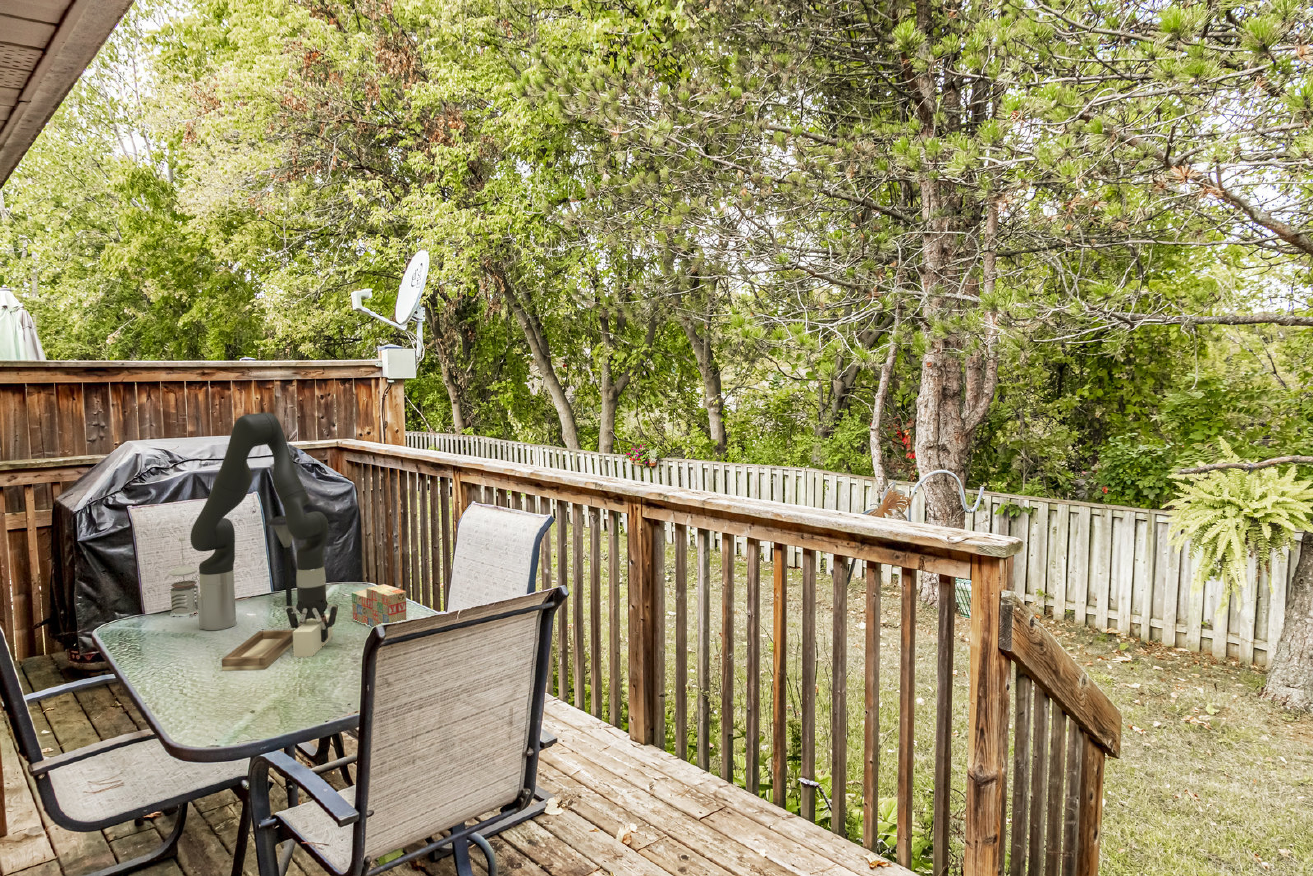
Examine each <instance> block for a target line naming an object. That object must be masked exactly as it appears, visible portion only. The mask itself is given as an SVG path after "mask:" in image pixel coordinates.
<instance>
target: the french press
mask: <svg viewBox="0 0 1313 876" xmlns="http://www.w3.org/2000/svg"><path fill="white" fill-rule="evenodd" d="M185 541H186V538H185V537H184V536H181V537H179V538H178V542H181V544H183V542H185ZM181 557H182V558H181V559H182V560H181V561H182V562H184V551H183V547H181ZM198 571H199V568H196V567H194V566H188V565H187V566H185V565H184V564H182V565H181V566H179V567H176V568H174V569H172V570H170V571H169V572H168V574H169V576H173V577H179V576H181V577H182V576H183V581H176V582H173V583H172V584H171V587H172V588H171V589H170V597H171V598H170V602H171V603H170V604H171V608H170V609H171V611H172V613H175V614H194V613H196V612H198V598H200V597H201V594H200V592H199V586H198V585H197V583H199V584H200V579H198V577H199V578H200V575H198V574H197V575H196V576H192V580H185V576H188V575H193V574H195V573H197V572H198ZM197 581H198V582H197ZM174 609H175V610H174Z"/></svg>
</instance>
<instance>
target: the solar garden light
mask: <svg viewBox="0 0 1313 876" xmlns="http://www.w3.org/2000/svg"><path fill="white" fill-rule="evenodd" d="M265 525H266V526H272V528H273V530H274V531H275V533H276V536H277V538H278V539H279V541H280V543H281V544H282V546H283V554H284V555H283V556H284V559H283V560H284V576H285V577H284V579H285V600H286V601H285V602H286V606H287V607H290V606H293V596H292V595H293V594H292V593H293V591H292V571H291V548H290V546H291V544H292V542H293V539H294V537H293V536H292V535H291V534H290V532H289V530H288V527H287V522H286V517H285V515H280V516H275V517H274V518H272V519H271V520H269V521H267V522H266V523H265Z"/></svg>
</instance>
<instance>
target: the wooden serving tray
mask: <svg viewBox="0 0 1313 876" xmlns="http://www.w3.org/2000/svg"><path fill="white" fill-rule="evenodd" d="M295 630H296V629H285V630H284V629H282V630H281V629H279V630H278V629H277V630H259V631H257V632H256V633H255V634H254V635H252V636H250V637H249V638H248V639H246V640H245V641H244V642H243V643H241V644H240V645H238V646H237V647H236V648H235V649H233V650H232V651H231V652H229V653H228V654H227V655H225V656H224V657H223V658H221V670H222V671H245V670H250V671H251V670H253V671H254V670H266V669H268V667H269V666H271V665H272V664H274V662H276V661H277V660H278V659H279V658H280V657H281V656H282V655H284V653H286V652H287V651H288V650H289V649H290V648H291V647H293V632H294V631H295ZM286 650H287V651H286ZM285 651H286V652H285ZM276 659H277V660H276Z"/></svg>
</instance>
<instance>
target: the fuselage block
mask: <svg viewBox="0 0 1313 876" xmlns="http://www.w3.org/2000/svg"><path fill="white" fill-rule="evenodd" d="M325 616H326V620H327V622H328V621H329V616H330V613H326V614H325ZM321 629H322V628H321V626H320V624H319V623H318V621H317V619H312V618H311V619H308V620H307V622H305V623H304V624H302V625H301V626H300V627H298V628H297V629H296V628H295V629H294V630H295V631H294V632H293V645H292V647H293V658H306V657H307V656H313V655H314V656H315V655H316V654H317V653H318V652H319V651H320V650H321V649H322V648H323V647H324V646H325V645H326V644H327V643H328V642H330V640H332V639H331V637H332V636H333V635H334V634H333V626H332V627H329V628H328V639H327V640H326V641H325V642H321ZM327 641H328V642H327ZM326 642H327V643H326ZM322 646H323V647H322ZM318 650H319V651H318ZM317 651H318V652H317ZM316 652H317V653H316ZM315 653H316V654H315ZM307 658H308V657H307Z"/></svg>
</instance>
